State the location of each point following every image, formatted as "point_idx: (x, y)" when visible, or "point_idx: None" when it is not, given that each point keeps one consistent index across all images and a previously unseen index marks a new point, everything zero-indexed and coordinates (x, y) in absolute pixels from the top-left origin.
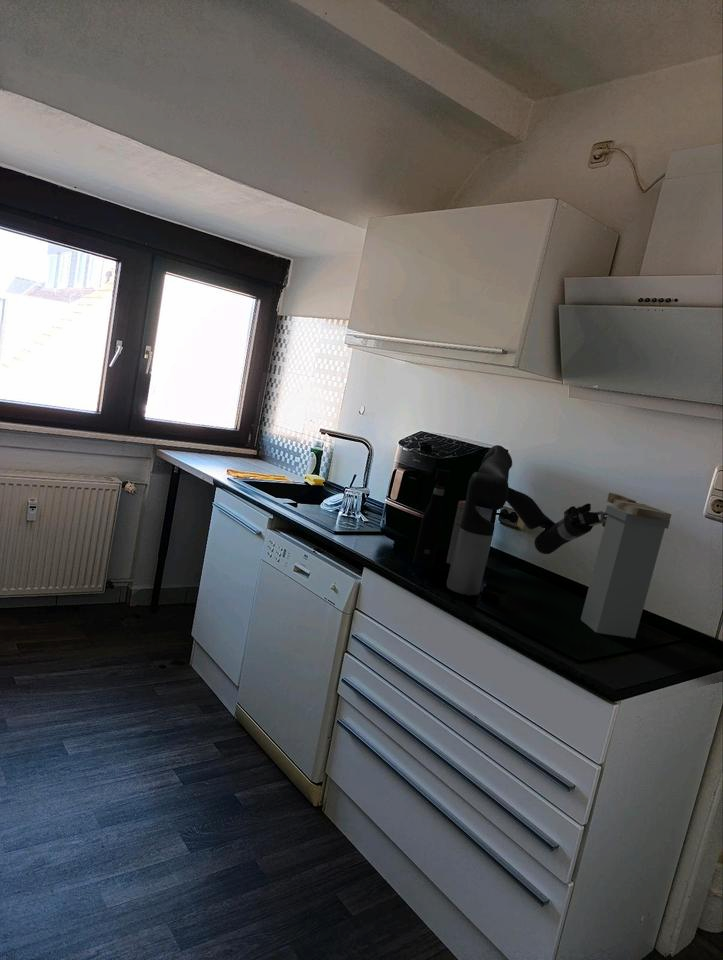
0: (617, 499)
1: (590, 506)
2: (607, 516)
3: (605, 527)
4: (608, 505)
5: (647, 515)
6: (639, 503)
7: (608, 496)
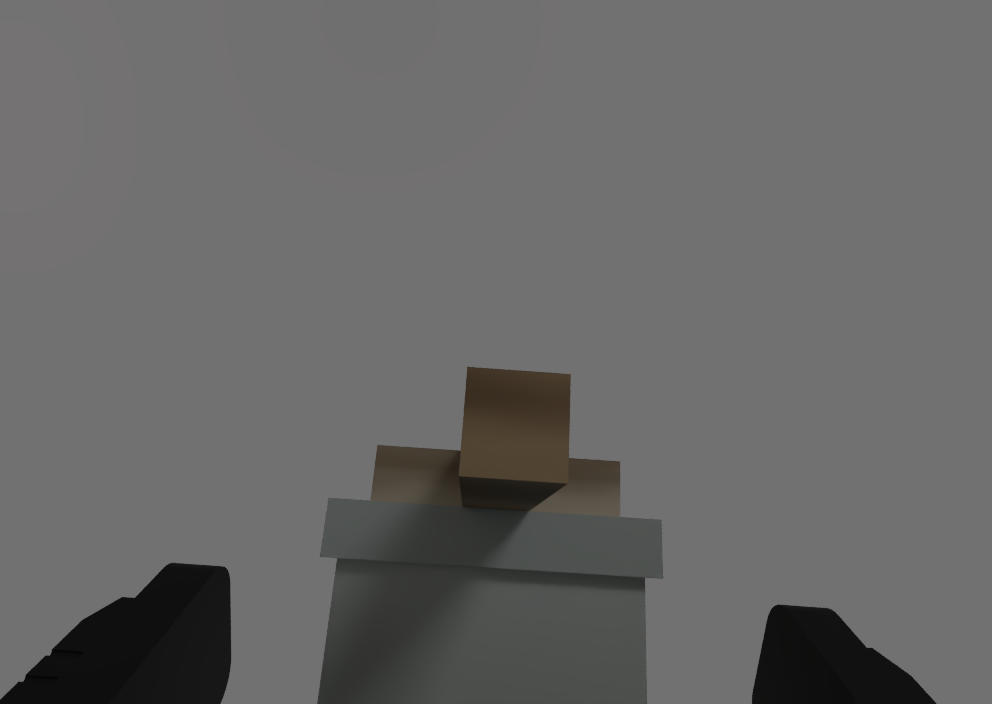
0: (597, 461)
1: (765, 651)
2: (643, 603)
3: (642, 693)
4: (653, 520)
5: None
6: (424, 449)
7: (568, 420)
